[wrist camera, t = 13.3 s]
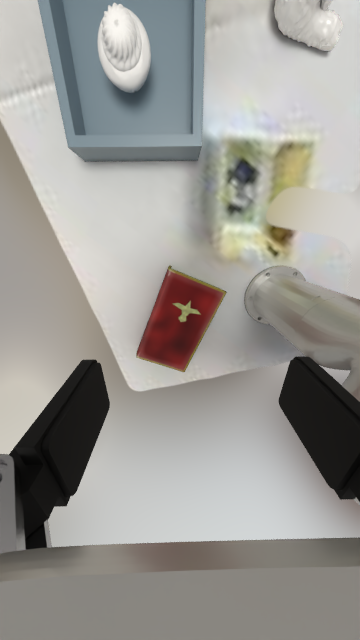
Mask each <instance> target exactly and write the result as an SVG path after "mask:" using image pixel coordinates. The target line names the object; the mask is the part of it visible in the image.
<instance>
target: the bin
mask: <svg viewBox="0 0 360 640" xmlns="http://www.w3.org/2000/svg"><path fill="white" fill-rule="evenodd" d="M205 2H206V0H38V4H39V9H40V14H41V18H42V23H43V28H44V33H45V38H46V42H47V47H48V52H49V57H50V62H51V66H52V71H53V76H54V81H55V86H56V90H57V95H58V100H59V105H60V110H61V115H62V119H63V124H64V129H65V134H66V139H67V143H68V148H70V149H71V150H72V151H73V152H74V153H76V154H77V155H78V156H79V157H80V158H82V159H83V160H84V161H179V160H198V157H199V154H200V150H201V147H202V114H203V77H204V39H205ZM113 3H116V4H117V5H118V4H122V5H123V7H125V8H127V9H129V10H130V11H132V12H133V13H134V14H135V15H136V16H137V17H138V18H139V20H140V21H141V23H142V24H143V26H144V28H145V30H146V32H147V35H148V39H149V43H150V49H151V63H150V69H149V72H148V75H147V79H146V81H145V82H144V85H143V86H142V87H141V89H140V90H138V91H137V92H136V91H135V93H129V92H124V91H123V90H120V88H118V87H116V86H115V85H114V84H113V83H112V82H111V81H110V80H109V78H108V77H107V75H106V74H105V72H104V70H103V67H102V65H101V62H100V58H99V54H98V31H99V27H100V23H101V21H102V18H103V17H104V11H108V5H110V6H111V7H112V5H113Z"/></svg>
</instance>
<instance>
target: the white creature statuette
mask: <svg viewBox="0 0 360 640" xmlns="http://www.w3.org/2000/svg"><path fill="white" fill-rule="evenodd" d="M331 1H332V0H275V7H274V11H275V12H274V13H275V19H276V20H277V22H278V28H279V29H280V30H281V32H282V33H283V35H287V36H288V38H292V39H293V40H297V41H298V42H303V43H306V44H307V46H308V47H309V46H312V47H315V48H317V49H319V50H323V51H331V50H332V49H333V48H334V47H335V45H336V43H337V42H338V39H339V34H340V32H341V30H342V27H343V23H342V21H341V19H340V18H339V15H338V14H336V13H335V11H329V10H328V6H330V4H331Z"/></svg>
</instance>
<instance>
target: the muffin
mask: <svg viewBox="0 0 360 640" xmlns="http://www.w3.org/2000/svg"><path fill="white" fill-rule="evenodd" d="M98 54H99V58H100V62H101V65H102V67H103V70H104V72H105V74H106V75H107V77H108V78H109V80H110V81H111V82H112V83H113V84H114V85H115V86H116V87H118V88H120V90H123V91H124V92H129V93H135V91H136V92H137V91H138V90H140V89H141V87H142V86H143V85H144V82H145V81H146V79H147V75H148V72H149V69H150V63H151V49H150V43H149V39H148V35H147V32H146V30H145V28H144V26H143V24H142V23H141V21H140V20H139V18H138V17H137V16H136V15H135V14H134V13H133V12H132V11H130V10H129V9H127V8H125V7H123V5H122V4H118V5H117V4H116V3H113V5H112V7H111V6H110V5H108V11H104V17H103V18H102V21H101V23H100V27H99V31H98Z"/></svg>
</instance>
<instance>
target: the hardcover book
mask: <svg viewBox="0 0 360 640" xmlns="http://www.w3.org/2000/svg"><path fill="white" fill-rule="evenodd" d="M171 267H172V266H169V267H168V270H167V272H166V275H165V278H164V280H163V283H162V286H161V289H160V291H159V294H158V297H157V299H156V302H155V305H154V307H153V310H152V313H151V315H150V318H149V321H148V323H147V326H146V329H145V332H144V334H143V337H142V340H141V342H140V345H139V348H138V350H137V354H136V357H137V358H140V359H143V360H146V361H150V362H153V363H156V364H159V365H163V366H166V367H169V368H172V369H176V370H179V371H182V372H185V370H186V368H187V366H188V364H189V362H190V360H191V359H192V357H193V355H194V353H195V351H196V349H197V347H198V345H199V343H200V342H201V340H202V338H203V336H204V334H205V332H206V330H207V328H208V326H209V325H210V323H211V321H212V319H213V317H214V315H215V313H216V311H217V309H218V307H219V306H220V304H221V302H222V300H223V298H224V296H225V294H226V291H224V290H221V289H220V288H217V287H215V286H212V285H210V284H208V283H205V282H203V281H200V280H198V279H196V278H193V277H191V276H188V275H186V274H184V273H181V272H179V271H176V270H174V269H171Z"/></svg>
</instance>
